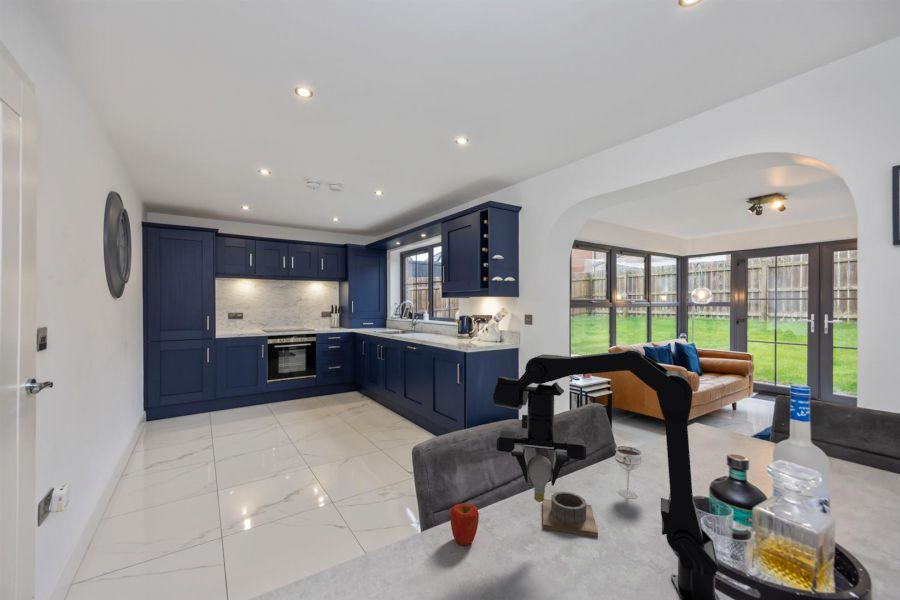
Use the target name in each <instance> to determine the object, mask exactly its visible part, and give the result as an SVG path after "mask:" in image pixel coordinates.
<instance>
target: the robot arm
mask: <svg viewBox="0 0 900 600" xmlns="http://www.w3.org/2000/svg"><path fill="white" fill-rule="evenodd" d="M524 370H525V371H524V372H523V374H522V375H521V377H519V378H511V377H507V376H503V375H502V376H499V377H497V383H496V384H495V388H494V391H493V393H492V394H493V395H492V396H493V403H494V405H495V406H496V407H502V408H508V409H512V410H513V409H514V410H522V408H523V406H526V405H527V414H522V415H521V428H522V430H526V432H527V433H526V435H527V436H526V437H519V436H517V432H516V431H508V430H500V431H499V432H498V435H497V437H496V450H497V452H504V453H510V456H511V457H515V458H516V460H517V462H518V464H519V466H520V469H521V471H522V475H523V477H524V481H525V483H529V474H528V470H527V465H528V462H527V461H528V460H527V451H526V449H527V448H530V449H540V450H541V449H542V450H550V451H554V455H553V463H552V468H553V473H552V476H551V478H550V480H551V481H550V482H551V486H552V487H553V486H554V485H555V484H556V481H557V478H558V476H559V474H560V472H561V470H562V468H563V466H564V465H565V464H566V463H570V462H571V460H581V461H584V460H587V447H586V443H585V441H584V440H583V439H582V437H572V436H565V437H564V441H560V440H555V439H554V438H555V437H554V436H555V396H558V397H560V396H562V395H563V394H564V393H565V390H564V389H563V388H562V387H561V386H560V385H559V383H558V382H557V380H560V379H563V378H566V377H571V376H577V375H578V376H579V375H590V374H591V375H592V374H601V373H603V374H604V373H614V372H624V371H625V372H627V371H629V372H630V373H632V374H633V375H634V376H635V377H637V378H638V379H640V381H641V382H643V383H644V384H645V385H646V386H648V387H649V388H650V389H652V390H653V391H654V392H655V393H656V396H657V400H658V401H657V402H658V404H659V407H660V411H661V415H662V417H663V422H664V425H665V436H666V437H665V438H666V451H667V452H666V453H667V467H668V469H667V470H668V479H669V496H668V499H667V498H664V497H660V515H661V535H663V536H664V535H666V536H665V537H666V542H667V544H668V546H669V547H670V548H672V549H673V550H674V552H676V553H677V574H674V573H673V574H670V579H671V580H672V582H673V585H674V587H675V589H676V590H677V593H678V596H679V597H680V599H681V600H721V599H720V597H719V596H718V595H719V594H717V592H716V574H717V573H718V571H719V568H720V567H719V562H718V558H717V553H716V549H715V545H714V540H713V539H712V538H711V537H710V536H709V534H708V533H706V531H705V530H704V529H703V528H702V526H701V522H700V517H699V513H698V511H697V507H696V503H695V500H694V497H693V485H692V469H691V458H690V457H691V456H690V445H689V444H690V443H689V441H690V440H689V431H688V429H689V428H688V427H689V426H688V424H689V419H690V414H691V408H692V402H693V400H692V399H693V388H692V386H691V384H690V381H689V379H688V377H687V376H686V375H685V374H683V373H681V372H680V371H677V370H668V369H667V368H665V367H664V366H663V365H661V364H659V363H657V362H656V361H654V360H653V359H651V358H650V357H647V356H646V355H644V354H643V352H641V351H639V349H635V348H628V349H626V350H620V351H612V352H602V353H594V354H585V355H583V354H582V355H576V356H567V355H565V356H564V355H559V354H558V355H557V354H541V355H540V354H539V355H537V356H534V357H532V358H530V359H529V360H528V361H527V363H526V364H525V369H524ZM553 381H555V382H554V383H552V385H551V384H546V383H550V382H553ZM532 384H536V385H537V386H531V385H532Z"/></svg>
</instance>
